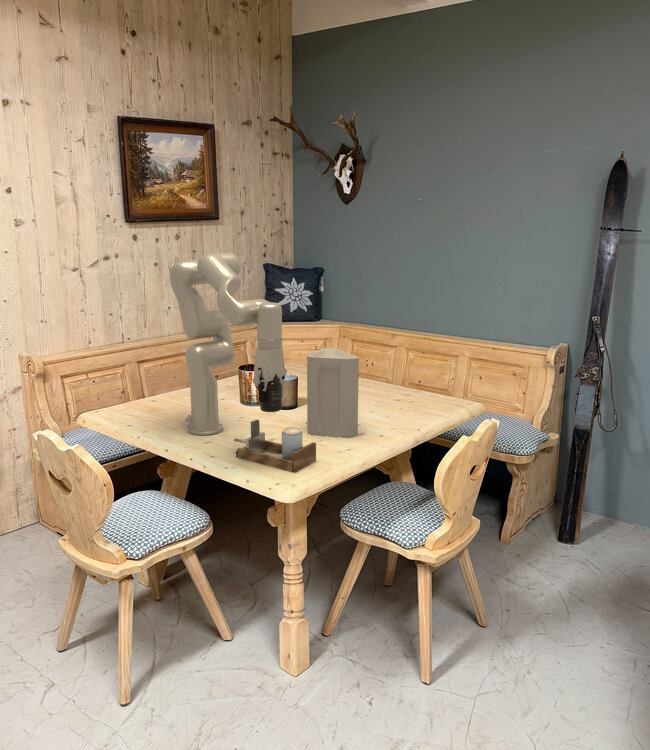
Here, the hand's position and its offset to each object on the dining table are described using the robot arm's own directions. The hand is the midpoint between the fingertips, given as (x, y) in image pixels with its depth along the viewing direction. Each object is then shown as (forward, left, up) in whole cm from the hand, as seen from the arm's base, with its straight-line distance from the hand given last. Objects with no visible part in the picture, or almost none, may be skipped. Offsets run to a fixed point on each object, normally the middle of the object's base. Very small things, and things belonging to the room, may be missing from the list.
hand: (270, 399), depth 206 cm
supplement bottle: (0, 0, -4) cm, 4 cm away
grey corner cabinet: (+1, +32, -20) cm, 37 cm away
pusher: (-10, 0, -19) cm, 22 cm away
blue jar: (+8, 0, -19) cm, 21 cm away
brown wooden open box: (+2, 0, -19) cm, 19 cm away
